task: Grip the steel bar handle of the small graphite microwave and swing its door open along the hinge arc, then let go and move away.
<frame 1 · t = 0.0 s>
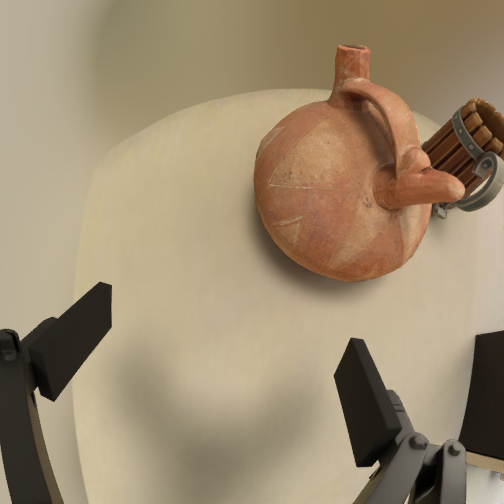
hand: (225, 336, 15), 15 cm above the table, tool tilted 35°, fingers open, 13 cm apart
mug: (434, 192, 39), on the table
jug: (324, 216, 35), on the table
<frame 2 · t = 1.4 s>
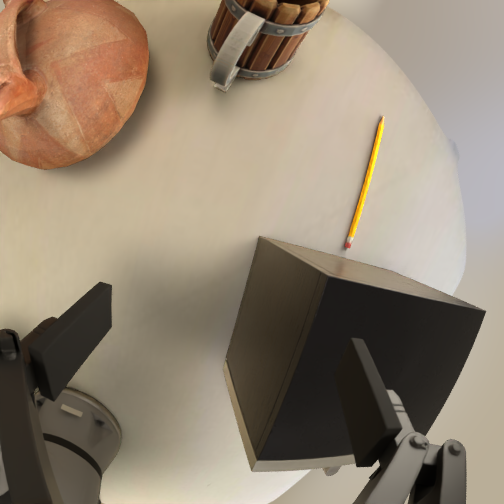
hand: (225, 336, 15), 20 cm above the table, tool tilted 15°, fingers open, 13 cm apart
pencil: (365, 177, 38), on the table
microwave: (314, 313, 39), on the table
mug: (239, 60, 31), on the table
jug: (82, 97, 28), on the table
microwave door: (290, 426, 31), point 9 cm above the table, hinge at 0.0°
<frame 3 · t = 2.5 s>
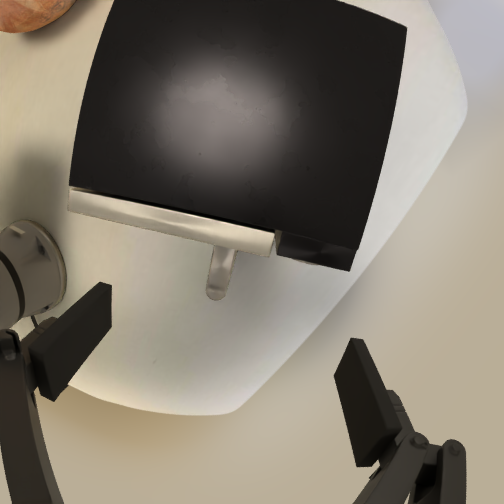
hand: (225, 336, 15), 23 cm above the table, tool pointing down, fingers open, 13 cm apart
microwave: (247, 119, 33), on the table
microwave door: (185, 227, 28), point 9 cm above the table, hinge at 0.0°
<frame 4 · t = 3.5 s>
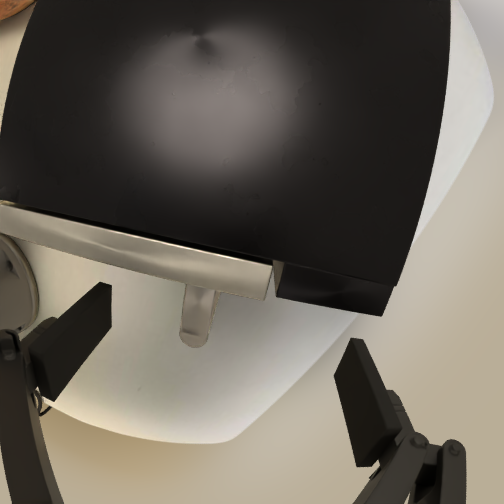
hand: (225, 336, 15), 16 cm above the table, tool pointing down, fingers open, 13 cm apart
microwave: (238, 106, 26), on the table
microwave door: (157, 245, 21), point 9 cm above the table, hinge at 0.0°
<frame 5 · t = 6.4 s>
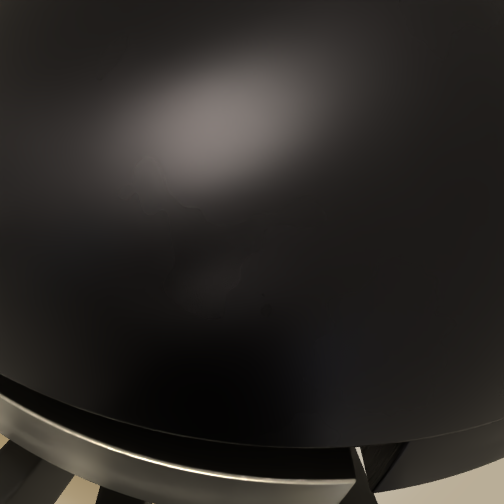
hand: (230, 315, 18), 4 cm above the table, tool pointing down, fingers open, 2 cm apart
microwave: (229, 79, 18), on the table
microwave door: (122, 313, 13), point 9 cm above the table, hinge at 2.9°, touching gripper
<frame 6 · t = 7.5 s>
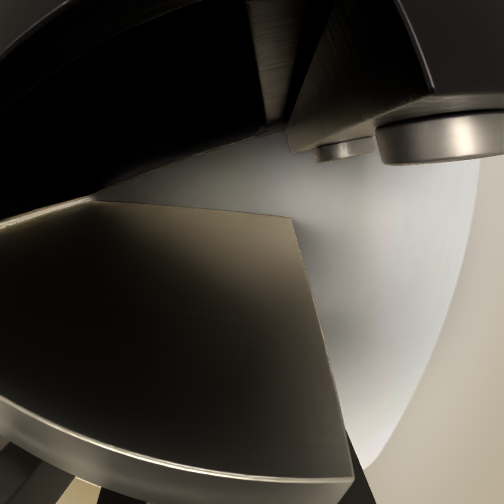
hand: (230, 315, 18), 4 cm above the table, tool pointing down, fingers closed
microwave: (180, 47, 17), on the table
microwave door: (123, 314, 13), point 9 cm above the table, hinge at 21.0°, touching gripper
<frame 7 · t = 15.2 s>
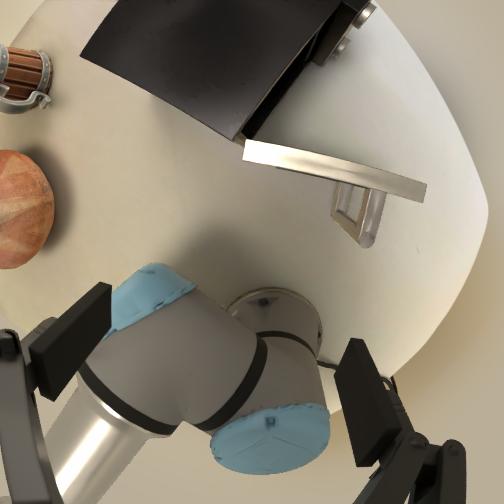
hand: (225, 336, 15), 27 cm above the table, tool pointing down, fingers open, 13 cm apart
microwave: (239, 57, 34), on the table
mug: (39, 89, 35), on the table
jug: (32, 201, 41), on the table
microwave door: (316, 191, 30), point 9 cm above the table, hinge at 65.9°
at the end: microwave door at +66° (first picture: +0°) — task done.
